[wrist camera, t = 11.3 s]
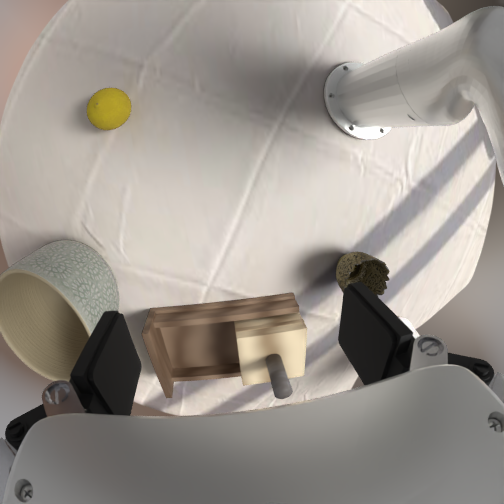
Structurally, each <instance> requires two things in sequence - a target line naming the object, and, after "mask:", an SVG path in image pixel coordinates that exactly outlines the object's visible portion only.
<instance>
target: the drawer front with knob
mask: <svg viewBox="0 0 504 504" xmlns="http://www.w3.org/2000/svg"><path fill="white" fill-rule="evenodd" d="M234 324H235V333H236V341H237V348H238V356H239V363H240V371H241V378H242V382H243V386H244V385H251V384H259V383H265V382H271V384H272V388H273V391H274V395H275V397H276V398H278V399H284V398H287V397H289V396H290V395H291V394H292V392H293V391H292V388H291V385H290V382H289V378H295V377H300V376H304V369H305V355H306V339H307V327H306V325H305V323H304V320H303V319H302V318H301V316H300V314H299V312H296V313H289V314H283V315H276V316H269V317H261V318H254V319H246V320H238V321H234Z"/></svg>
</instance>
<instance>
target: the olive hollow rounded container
mask: <svg viewBox="0 0 504 504" xmlns="http://www.w3.org/2000/svg"><path fill="white" fill-rule="evenodd" d="M388 274H389V269H388V268H387V266H386V264H385V263H384V262H382V261H380V260H379V259H377V258H375V257H373V256H370V255H368V254H366V253H363V252H352V253H349V254H345V255H343V256H341V257H340V259H339V260H338V262H337V269H336V278H337V282H338V284H339V286H340V288H341V290H342V291H343V293H344V289H345V288H346V287H347V286H348V284H350V283H356V282H362V283H363V284H364V285H365V286H367V287H368V288H369V289H370V290H371V291H372V292H373V293H374V294H375V295H376V296H377V297H378V295H383V294H384V290H385V289H387V286H386V282H385V281H389V278H388V276H387V275H388Z"/></svg>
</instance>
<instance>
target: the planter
mask: <svg viewBox="0 0 504 504" xmlns="http://www.w3.org/2000/svg"><path fill="white" fill-rule="evenodd" d="M118 308H119V292H118V286H117V282H116V279H115V277H114V275H113V273H112V271H111V269H110V267H109V266H108V264H107V263H106V261H105V260H104V259H103V258H102V257H101V256H100V255H99V254H98V253H97V252H96V251H95V250H93V249H92V248H90V247H89V246H87V245H85V244H83V243H80V242H77V241H72V240H60V241H55V242H52V243H50V244H47V245H45V246H43V247H41V248H40V249H38V250H36V251H35V252H33V253H32V254H30V255H28V256H26V257H25V258H23V259H22V260H20V261H18V262H17V263H15V264H14V265H12V266H11V267H9V268H8V269H7V270H6V271H4V272H3V273H2V274H1V275H0V332H1V334H2V336H3V338H4V339H5V341H6V342H7V344H8V345H9V347H10V348H11V349H12V351H13V352H14V353H15V354H16V355H17V356H18V357H19V358H20V360H22V361H23V362H24V363H25V364H26V365H27V366H28V367H30V368H31V369H32V370H34V371H35V372H37V373H38V374H40V375H42V376H44V377H46V378H48V379H50V380H53V381H57V380H65V381H68V382H69V380H70V378H71V376H70V374H71V372H72V370H73V368H74V366H75V364H76V362H77V360H78V358H79V356H80V354H81V352H82V350H83V348H84V347H85V345H86V343H87V341H88V339H89V337H90V336H91V334H92V332H93V330H94V328H95V327H96V325H97V323H98V321H99V320H100V318H101V316H102V315H103V313H104V312H105V311H116V310H117V311H118Z"/></svg>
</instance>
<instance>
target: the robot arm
mask: <svg viewBox="0 0 504 504" xmlns="http://www.w3.org/2000/svg"><path fill="white" fill-rule="evenodd" d="M329 95H330V96H331V98H330V97H329ZM324 99H325V103H326V107H327V109H328V112H329V114H330V116H331V117H332V119H333V121H334V122H335V123H336V124H337V125H338V126H339V127H340V128H341V129H342V130H343V131H344V132H346V133H347V134H349V135H351V136H353V137H355V138H358V139H364V140H371V139H377V138H380V137H382V136H384V135H385V134H387V133H388V132H389V130H390V129H391V128H396V127H415V126H449V125H454V124H457V123H459V122H460V121H462V120H463V119H465V118H466V117H467V116H468V114H469V113H470V112H471V110H472V109H473V107H474V105H476V106H477V108H478V110H479V112H480V115H481V117H482V120H483V122H484V124H485V126H486V129H487V131H488V134H489V137H490V140H491V144H492V147H493V150H494V154H495V157H496V161H497V165H498V168H499V173H500V176H501V179H502V182H503V185H504V7H499V6H491V7H485V8H482V9H479V10H476V11H475V12H472V13H470V14H468V15H466V16H465V17H463V18H462V19H460V20H458V21H456V22H455V23H453V24H451V25H450V26H448V27H446V28H444V29H442V30H440V31H438V32H436V33H434V34H432V35H430V36H427V37H425V38H423V39H420V40H418V41H416V42H413V43H411V44H408V45H406V46H404V47H401V48H399V49H397V50H394V51H392V52H390V53H388V54H385V55H383V56H381V57H379V58H377V59H375V60H373V61H370V62H368V63H366V64H364V63H360V62H348V63H344V64H342V65H340V66H338V67H336V68H335V69H334V70H333V71H332V72H331V73H330V75H329V76H328V78H327V80H326V83H325V88H324ZM349 128H350V130H349ZM412 335H413V332H412V331H411V330H410V329H409V328H408V327H407V326H406V325H405V324H404V323H403V322H402V321H401V320H400V319H399V318H398V317H397V316H396V315H395V314H394V313H393V312H392V311H391V310H390V309H389V308H388V307H387V306H386V305H385V304H384V303H383V302H382V301H381V300H380V299H379V298H378V297H377V296H376V295H375V294H374V293H373V292H372V291H371V290H370V289H369V288H368V287H367V286H365V285H364V284H363V283H362V282H356V283H350V284H348V286H347V287H346V288H345V289H344V293H343V303H342V313H341V321H340V329H339V337H338V340H339V344H340V346H341V348H342V349H343V351H344V352H345V354H346V356H347V357H348V359H349V361H350V362H351V364H352V365H353V367H354V369H355V370H356V372H357V374H358V375H359V377H360V378H361V380H362V382H363V383H364V385H365V386H362V387H358V388H354V389H351V390H347V391H344V392H340V393H336V394H332V395H328V396H324V397H320V398H316V399H311V400H307V401H302V402H297V403H292V404H287V405H281V406H275V407H269V408H263V409H256V410H249V411H241V412H232V413H221V414H209V415H193V416H130V414H131V409H132V404H133V400H134V396H135V392H136V388H137V384H138V380H139V376H140V372H141V362H140V359H139V357H138V354H137V352H136V349H135V347H134V344H133V341H132V339H131V336H130V333H129V330H128V327H127V324H126V322H125V319H124V316H123V314H120V313H119V312H118V311H117V310H116V311H105V312H104V313H103V315H102V316H101V318H100V320H99V321H98V323H97V325H96V327H95V328H94V330H93V332H92V334H91V336H90V337H89V339H88V341H87V343H86V345H85V347H84V348H83V350H82V352H81V354H80V356H79V358H78V360H77V362H76V364H75V366H74V368H73V370H72V372H71V374H70V376H71V378H70V380H69V382H68V381H65V380H57V381H54V382H52V383H50V384H49V385H48V386H47V387H46V388H45V389H44V391H43V393H42V401H43V404H42V405H40V406H38V407H36V408H35V409H32V410H30V411H29V412H27V413H25V414H23V415H21V416H19V417H17V418H16V419H14V420H12V421H11V422H10V423H9V424H8V426H7V428H6V431H5V436H6V439H5V440H4V439H3V438H1V439H0V504H504V375H502V374H501V373H497V374H496V375H494V370H493V368H492V366H491V365H490V364H489V363H487V362H486V361H484V360H481V359H477V358H471V357H466V356H461V355H457V354H452V353H448V349H447V345H446V343H445V342H444V341H443V340H442V339H440V338H439V337H437V336H433V335H421V336H419V337H417V338H416V339H415V338H414V337H413V336H412Z"/></svg>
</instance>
